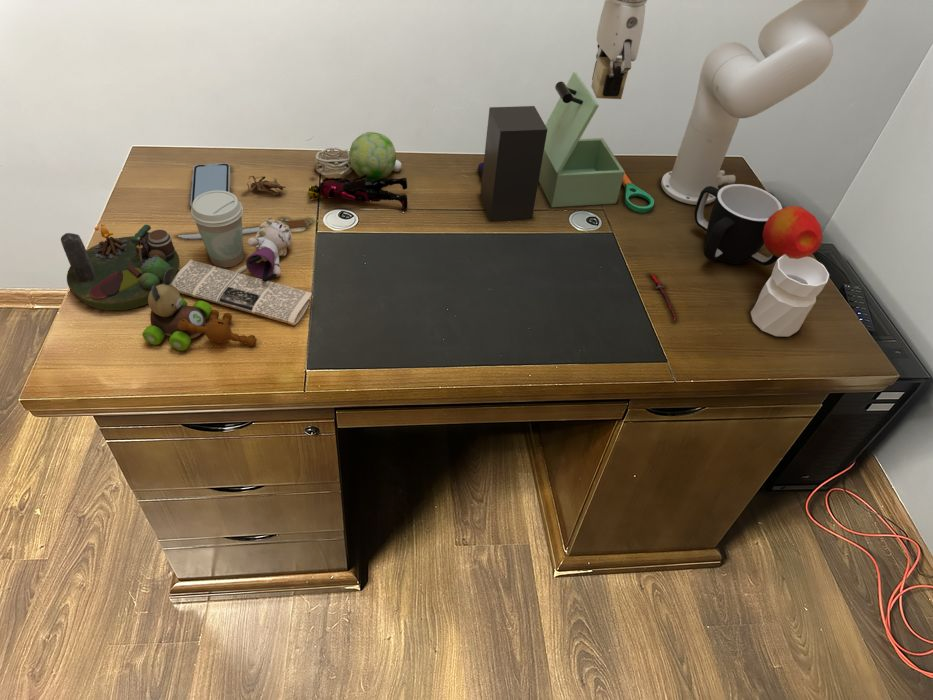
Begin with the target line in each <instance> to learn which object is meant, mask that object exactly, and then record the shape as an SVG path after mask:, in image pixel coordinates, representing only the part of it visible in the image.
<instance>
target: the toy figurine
mask: <svg viewBox="0 0 933 700" xmlns="http://www.w3.org/2000/svg"><path fill="white" fill-rule="evenodd" d="M219 316H220V311H219V310H217V309H212V310H211V312H210V314H209V318H208V319H209V320H210V321H209V322H208V323H207V324H206V326H205V327H204V326H196V325H195V324H193V323H189V322H188V321H187V320H186V319H182V320H181V321H179V324H178V329H180V330H188V331H192V332H194V331H196V332H198V333H201V334H204V335H205V336H206V338H207V339H208V340H209V341H211V342H212V343H217V344H222V343H225V342H226V341H228V340H229V341H233V342H238V343H240V344H244V345H248V346H250V347H255V346H256V344H257V339H258V338H256V335H254V334H250V335H244V334H243V335H242V334H241V335H239V334H237V333H235V332H232V329H231V325H230V323H231V322H232V319H233V315H232V313H230V312H225V313H223V316H222V319H221V318H219Z"/></svg>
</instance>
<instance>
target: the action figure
mask: <svg viewBox="0 0 933 700" xmlns="http://www.w3.org/2000/svg"><path fill="white" fill-rule="evenodd" d="M365 177H366V174H365V175H364V176H361V177H360V176H357V177H355V178H354V179H352V180H351V179H348V178H347V177H344V178H342V177H334V176H333V177H325V178H323V180H322V181H321V182H319V185H317V184H314V185H311V186H308V190H307V194H308V195H309V196H310V197H311V199H309V200H308V202H310V201H312V200H317V199H319V198H320V197H322V198H324V199H328V200H331V199H345V200H350V201H355V202H361V203H365V202H366V203H373V202H375V203H378V202H382V201H398V202H399V203H400V204H401V209H402V210H407V209H408V205H409V204H408V194H398V193H394V192H391V191H389V190H385V189H384V190H383V188H385V187H389V186H390V187H391V186H393V185H400V186H401V188H402V190H403V191H404V190H408V180H407V177H401V178H391V177H385V178H382V179H378V180H377V181H372V180H366V179H363V178H365ZM303 210H304V211H306V209H305V208H304V209H303Z"/></svg>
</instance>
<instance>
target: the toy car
mask: <svg viewBox="0 0 933 700" xmlns="http://www.w3.org/2000/svg"><path fill="white" fill-rule="evenodd" d="M173 273H174V268H169V269H168V270H167V271H166V272H165V275H164V279H163V282H164V284H161V285H158V286H153V287H152V290H151V292H150V293H149V296H148V304H147V305H148V307H149V309H150V315H149V320H150V325H148V326H146V327H145V329H144V330H143V332H142V334H141V335H142V338H143V340H144V341H146V342H147V343H148V344H151V345H154V346H156V345H160V344H161V343H162V341H164V339H165V336H168V337H169V339H168V342H169V344H170V346H171V347H172V348H173V349H175V350H177V351H182V352H183V351H186V350H187V349H188V348H189V346H190V345H191V343H192V339H194V338H197V337H199V336H200V335H201V334H202V333H198V332H196V331H194V332H192V331H188V330H180V329H178V324H179V321H181V320H182V319H186V320H187V321H188V322H189V323H193V324H195V325H196V326H204V327H205V326H207V321H206V320H207V319H210V318H209V314H210V312H211V310H213V308H212V306H211V304H210V303H209V302H208V301H205V300H197V301H195V302H194V304H193V305H188V302H187V301H186V300H185V298H183V296H181V293H179V291H178V289H177V288H176V287H174V286H173V285H170V284H169V283H170V280H171V277H172V275H173Z"/></svg>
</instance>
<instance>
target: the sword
mask: <svg viewBox="0 0 933 700" xmlns="http://www.w3.org/2000/svg"><path fill="white" fill-rule="evenodd" d="M280 221H281V222H282V223H283V224H284V225H288V226H289V229H290V231H291V233H292V234H293V233H302V232H305V231H307V230H308V229H309V227H310V226H311V225H313V221H312V220H311V219H310V218H309V219H308V218H307V219H300V220H294V221H292V220H290V219H288V218H282V217H281V218H280ZM259 227H260V225H259V226H253V227H245V228H242V232H243V236H244V235H251V234H257V232H258V230H259ZM176 236H177V238H179V239H182V240H185V241H186V240H187V241H194V240H195V241H198V240H202V237H201V235H200V233H185V234H179V235H176ZM202 241H203V240H202Z"/></svg>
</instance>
